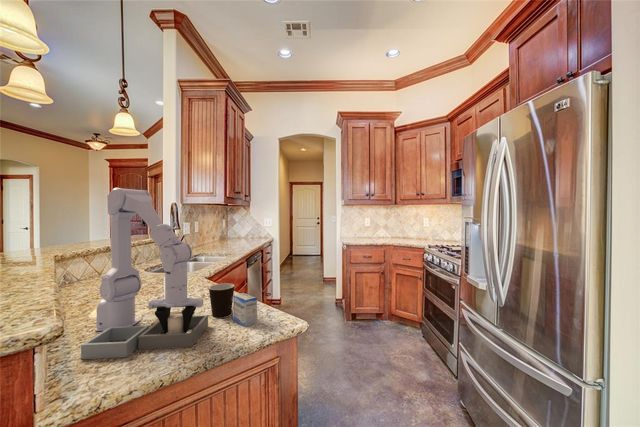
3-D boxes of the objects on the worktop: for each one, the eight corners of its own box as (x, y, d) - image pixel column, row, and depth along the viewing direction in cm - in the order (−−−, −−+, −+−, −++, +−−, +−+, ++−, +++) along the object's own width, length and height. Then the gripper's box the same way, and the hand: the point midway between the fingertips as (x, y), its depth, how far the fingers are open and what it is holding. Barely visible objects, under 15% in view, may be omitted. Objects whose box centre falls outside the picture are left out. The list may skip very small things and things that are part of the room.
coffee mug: (226, 320, 91) (226, 290, 91) (203, 318, 93) (203, 289, 93) (242, 308, 103) (242, 282, 103) (222, 306, 104) (222, 280, 104)
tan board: (151, 324, 88) (151, 323, 88) (165, 313, 98) (165, 312, 98) (183, 323, 89) (183, 322, 89) (194, 312, 99) (194, 311, 99)
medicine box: (232, 321, 91) (232, 295, 91) (244, 317, 94) (244, 292, 94) (245, 327, 85) (245, 300, 85) (257, 323, 88) (257, 297, 88)
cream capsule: (164, 340, 76) (164, 319, 76) (171, 334, 81) (171, 313, 81) (181, 340, 77) (181, 319, 77) (187, 333, 81) (187, 313, 81)
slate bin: (81, 359, 67) (80, 345, 67) (110, 339, 77) (110, 327, 77) (126, 356, 68) (126, 343, 68) (149, 337, 78) (149, 325, 78)
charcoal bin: (138, 349, 71) (138, 336, 71) (163, 328, 85) (163, 316, 85) (191, 347, 73) (191, 334, 73) (207, 326, 86) (207, 315, 86)
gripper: (142, 290, 74) (142, 339, 74) (197, 288, 76) (197, 337, 76) (155, 283, 81) (155, 328, 81) (205, 282, 83) (205, 326, 83)
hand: (176, 332), depth 79 cm, fingers open, 5 cm apart
